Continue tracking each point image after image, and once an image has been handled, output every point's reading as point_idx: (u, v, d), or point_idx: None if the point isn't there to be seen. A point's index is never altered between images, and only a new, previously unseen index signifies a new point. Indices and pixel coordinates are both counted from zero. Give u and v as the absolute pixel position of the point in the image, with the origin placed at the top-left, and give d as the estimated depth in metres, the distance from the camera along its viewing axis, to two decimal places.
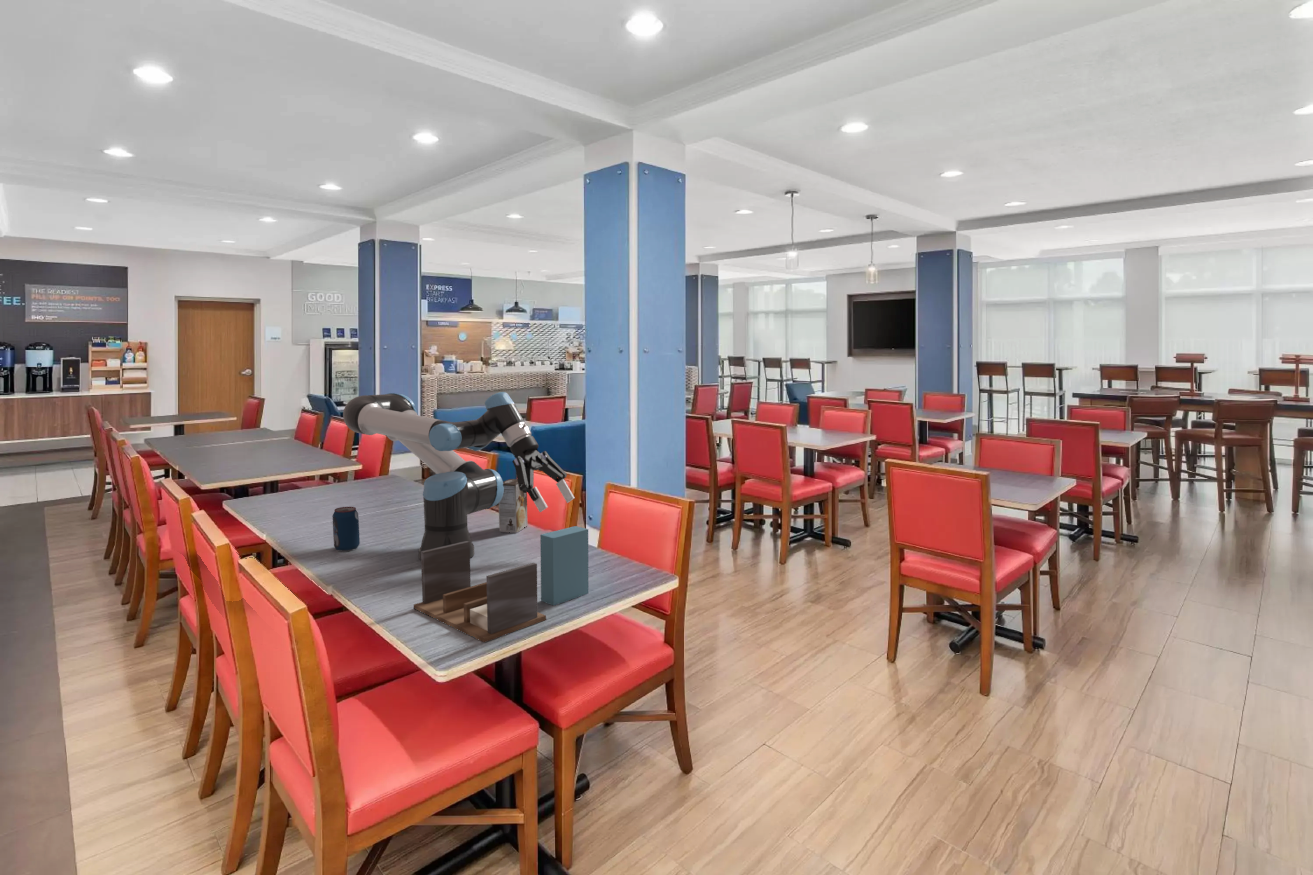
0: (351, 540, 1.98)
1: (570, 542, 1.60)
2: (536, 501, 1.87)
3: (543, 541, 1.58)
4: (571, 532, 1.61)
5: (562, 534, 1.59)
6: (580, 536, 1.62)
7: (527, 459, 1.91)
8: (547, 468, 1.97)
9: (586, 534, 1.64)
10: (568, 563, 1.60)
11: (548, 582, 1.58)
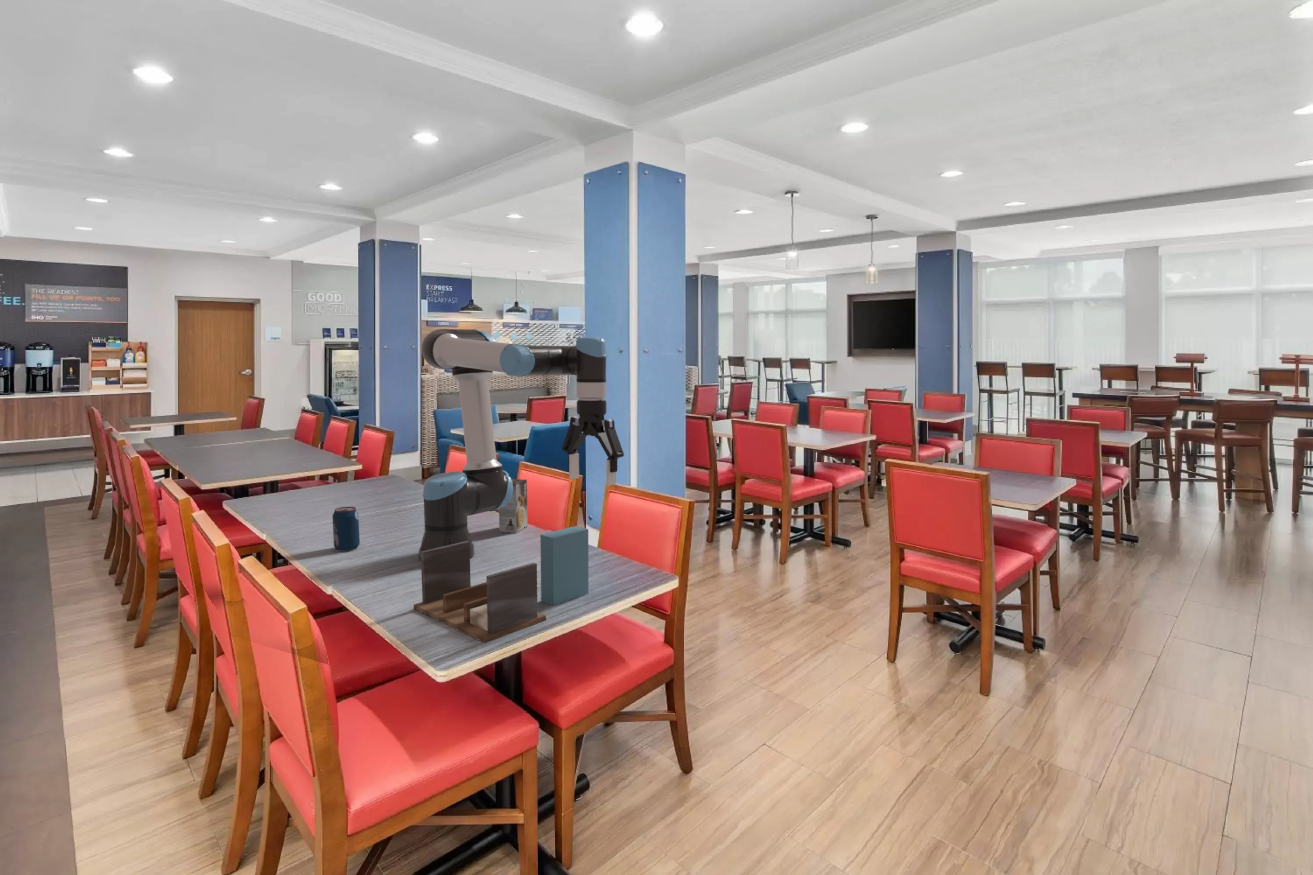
0: (351, 540, 1.98)
1: (570, 542, 1.60)
2: (610, 473, 1.70)
3: (543, 541, 1.58)
4: (571, 532, 1.61)
5: (562, 534, 1.59)
6: (580, 536, 1.62)
7: None
8: (584, 437, 1.77)
9: (586, 534, 1.64)
10: (568, 563, 1.60)
11: (548, 582, 1.58)
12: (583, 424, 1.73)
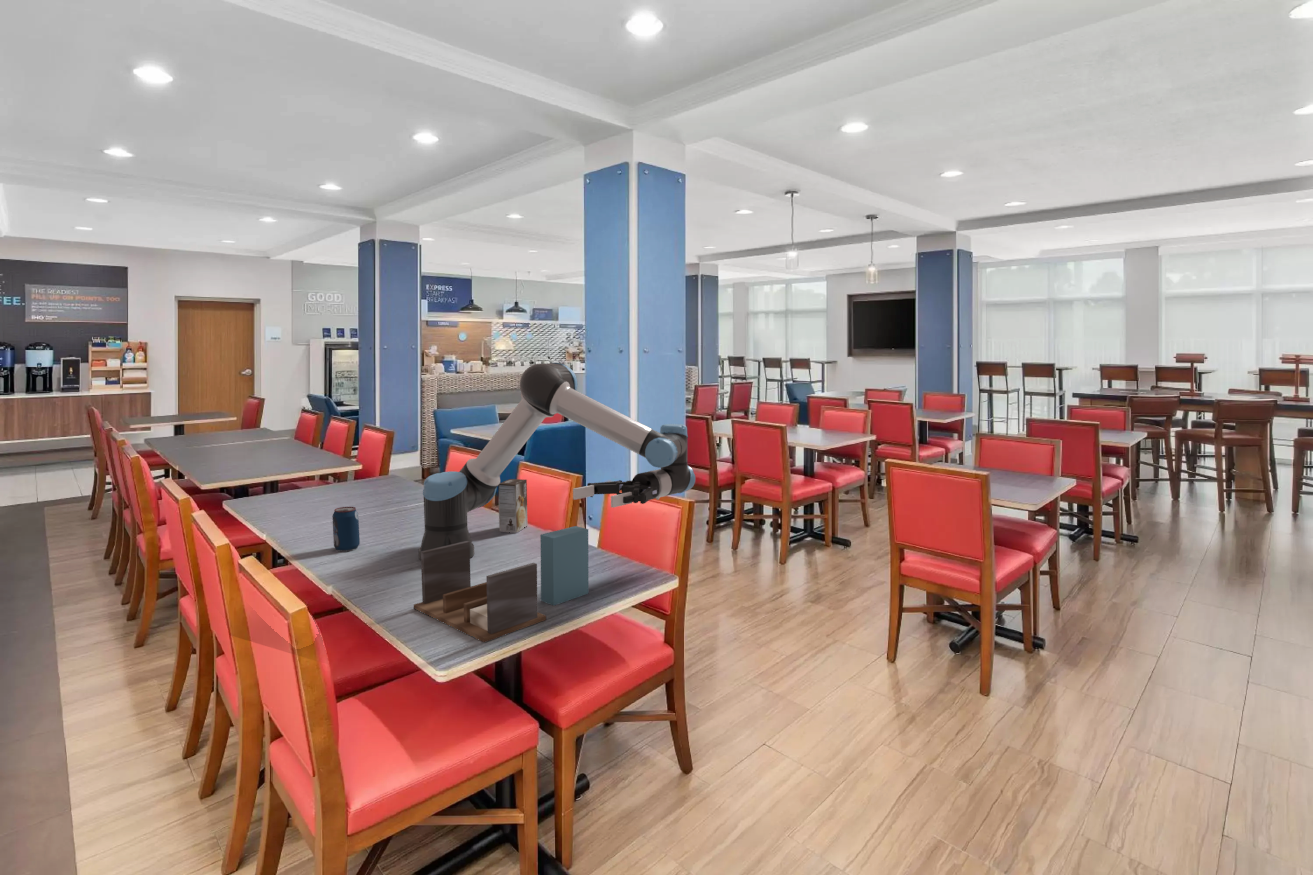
0: (351, 540, 1.98)
1: (570, 542, 1.60)
2: (621, 498, 1.65)
3: (543, 541, 1.58)
4: (571, 532, 1.61)
5: (562, 534, 1.59)
6: (580, 536, 1.62)
7: None
8: (614, 491, 1.78)
9: (586, 534, 1.64)
10: (568, 563, 1.60)
11: (548, 581, 1.58)
12: (631, 481, 1.79)
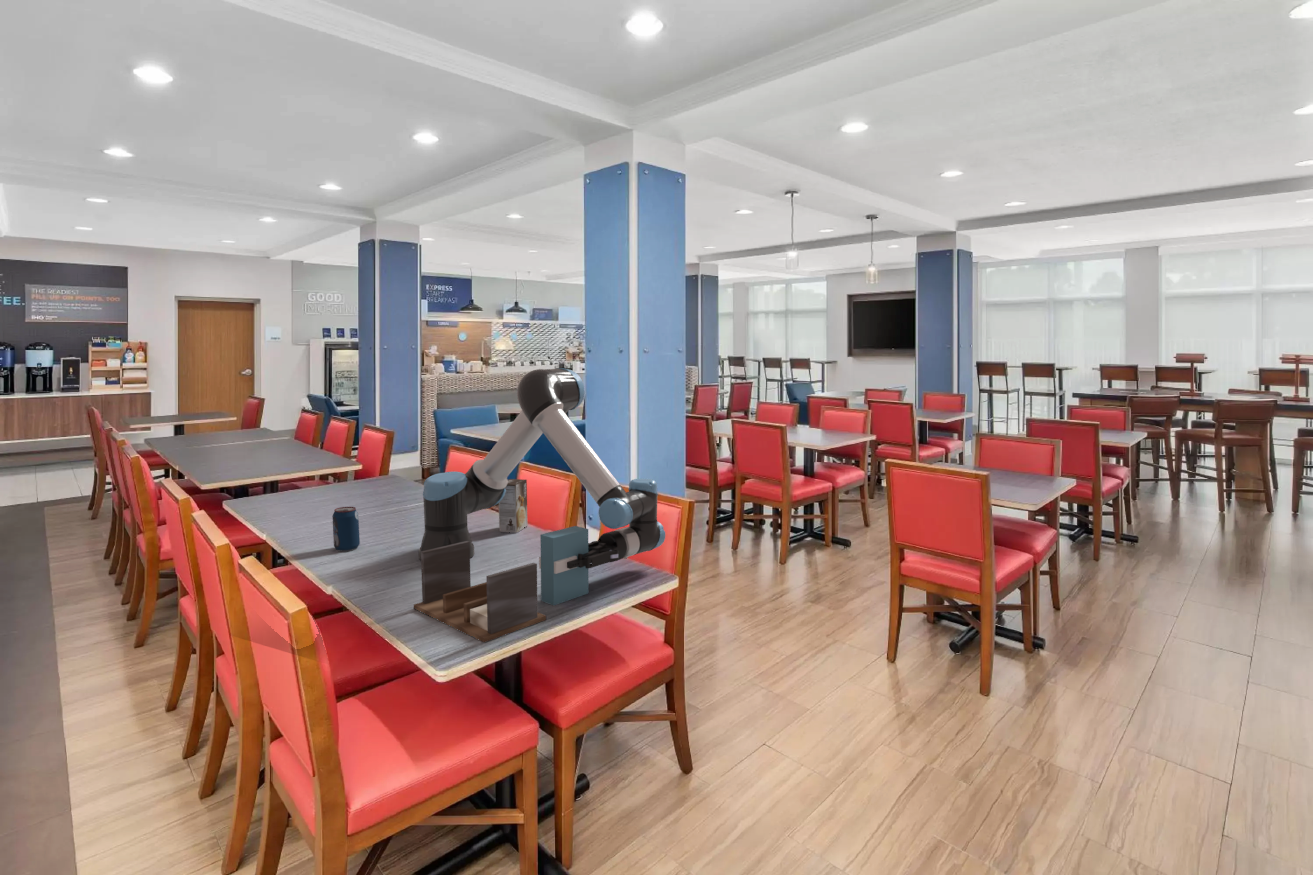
0: (351, 540, 1.98)
1: (570, 542, 1.60)
2: (565, 563, 1.58)
3: (543, 541, 1.58)
4: (571, 532, 1.61)
5: (562, 534, 1.59)
6: (580, 536, 1.62)
7: None
8: None
9: (586, 534, 1.64)
10: None
11: (548, 581, 1.58)
12: (597, 541, 1.71)
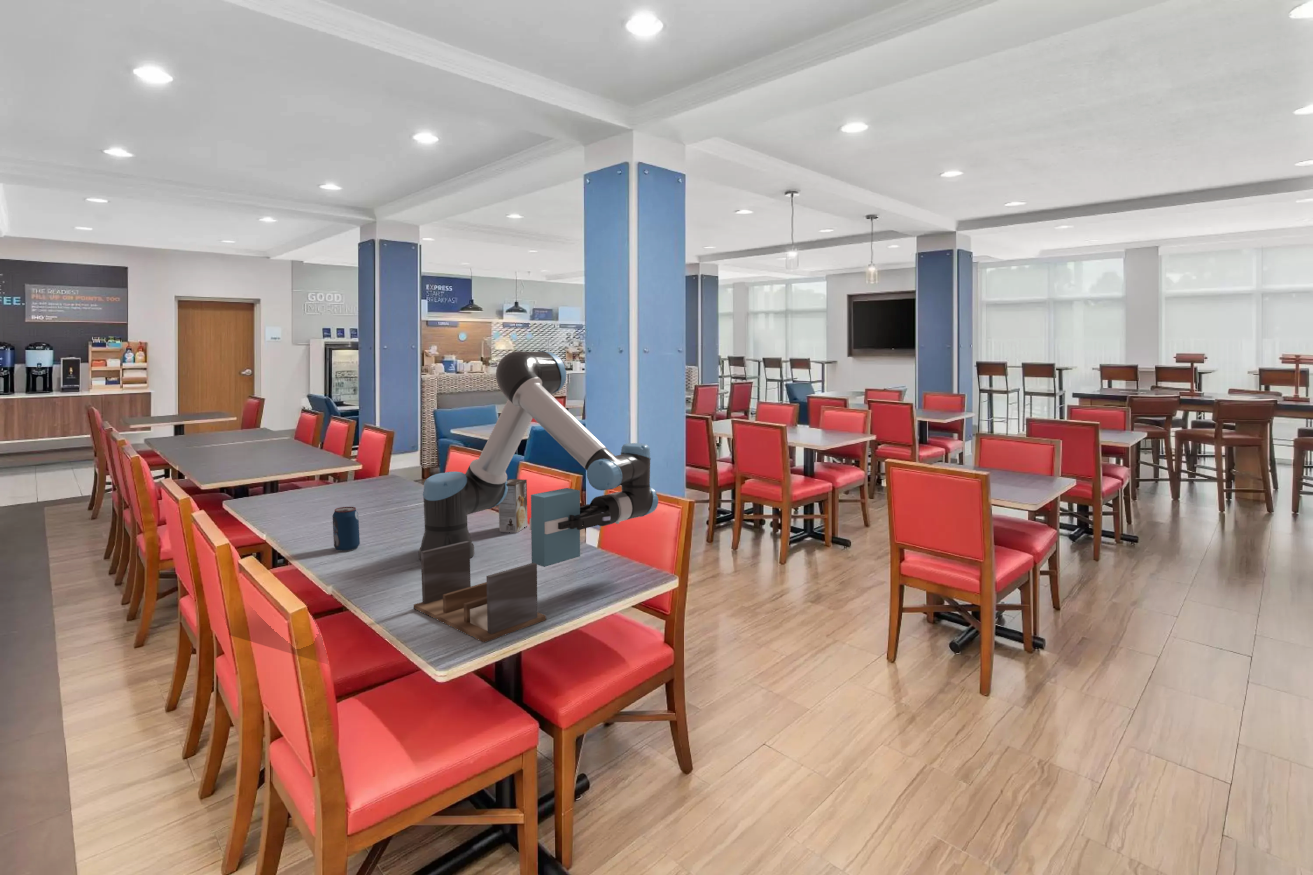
0: (351, 540, 1.98)
1: (561, 503, 1.57)
2: (556, 523, 1.55)
3: (534, 501, 1.55)
4: (562, 493, 1.58)
5: (553, 494, 1.56)
6: (572, 497, 1.59)
7: None
8: None
9: (578, 495, 1.61)
10: None
11: (539, 543, 1.55)
12: (589, 504, 1.68)
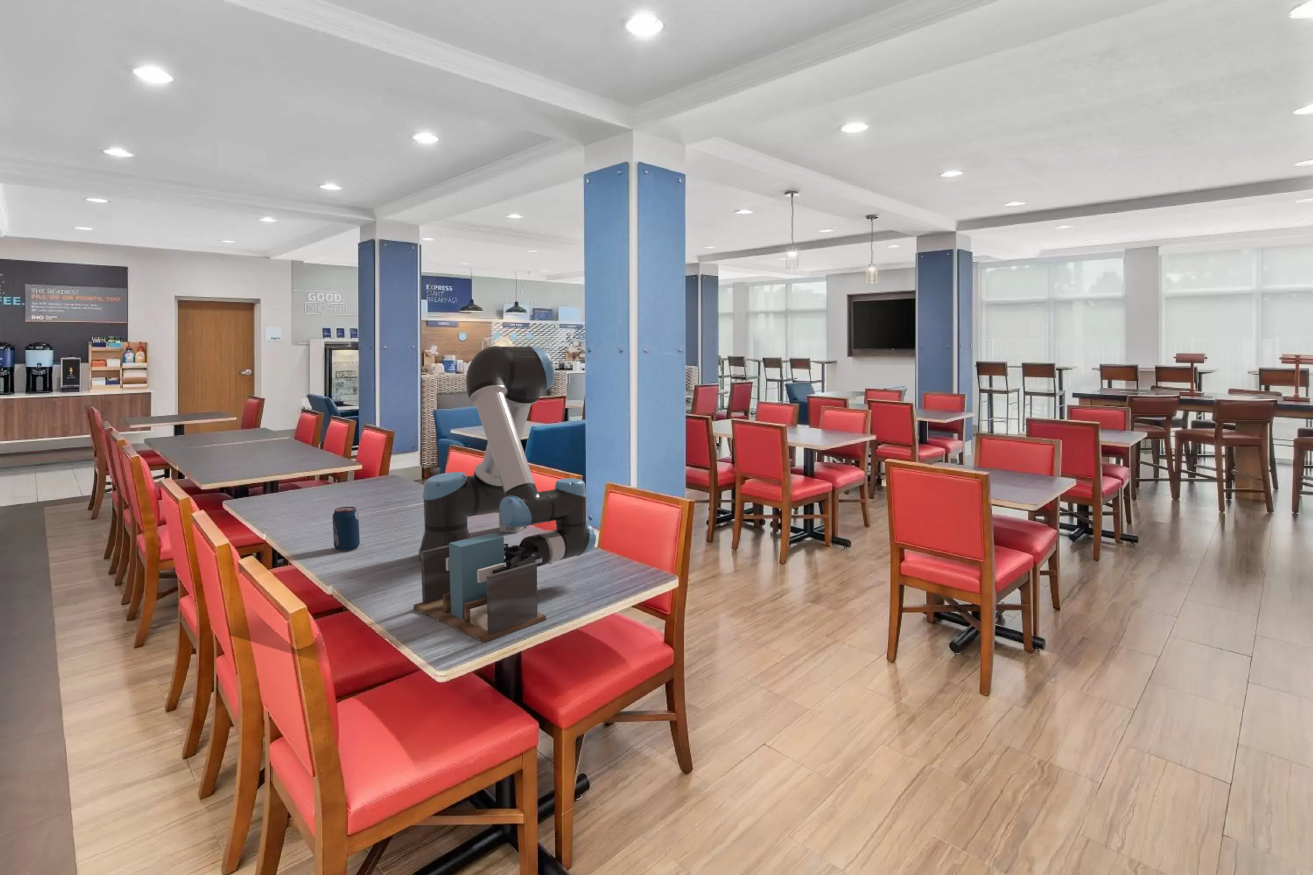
0: (351, 540, 1.98)
1: (481, 551, 1.48)
2: (491, 571, 1.46)
3: (452, 550, 1.47)
4: (483, 540, 1.49)
5: (473, 542, 1.48)
6: (494, 544, 1.51)
7: None
8: None
9: (501, 542, 1.52)
10: None
11: (457, 594, 1.47)
12: (517, 546, 1.60)
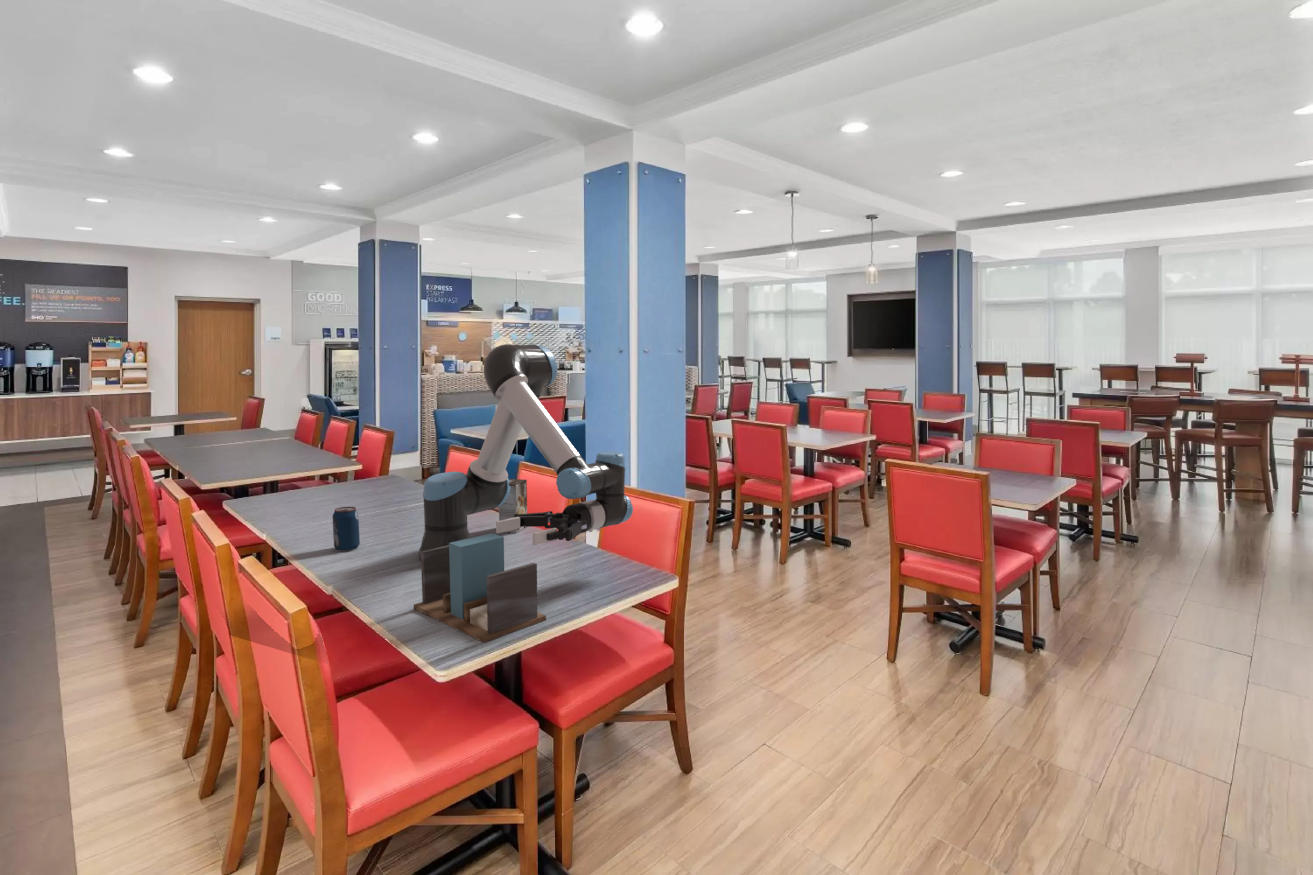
0: (351, 540, 1.98)
1: (481, 551, 1.48)
2: (545, 534, 1.55)
3: (452, 550, 1.47)
4: (483, 540, 1.49)
5: (473, 542, 1.48)
6: (494, 544, 1.51)
7: None
8: (542, 524, 1.68)
9: (501, 542, 1.52)
10: (480, 573, 1.49)
11: (457, 594, 1.47)
12: (561, 513, 1.69)
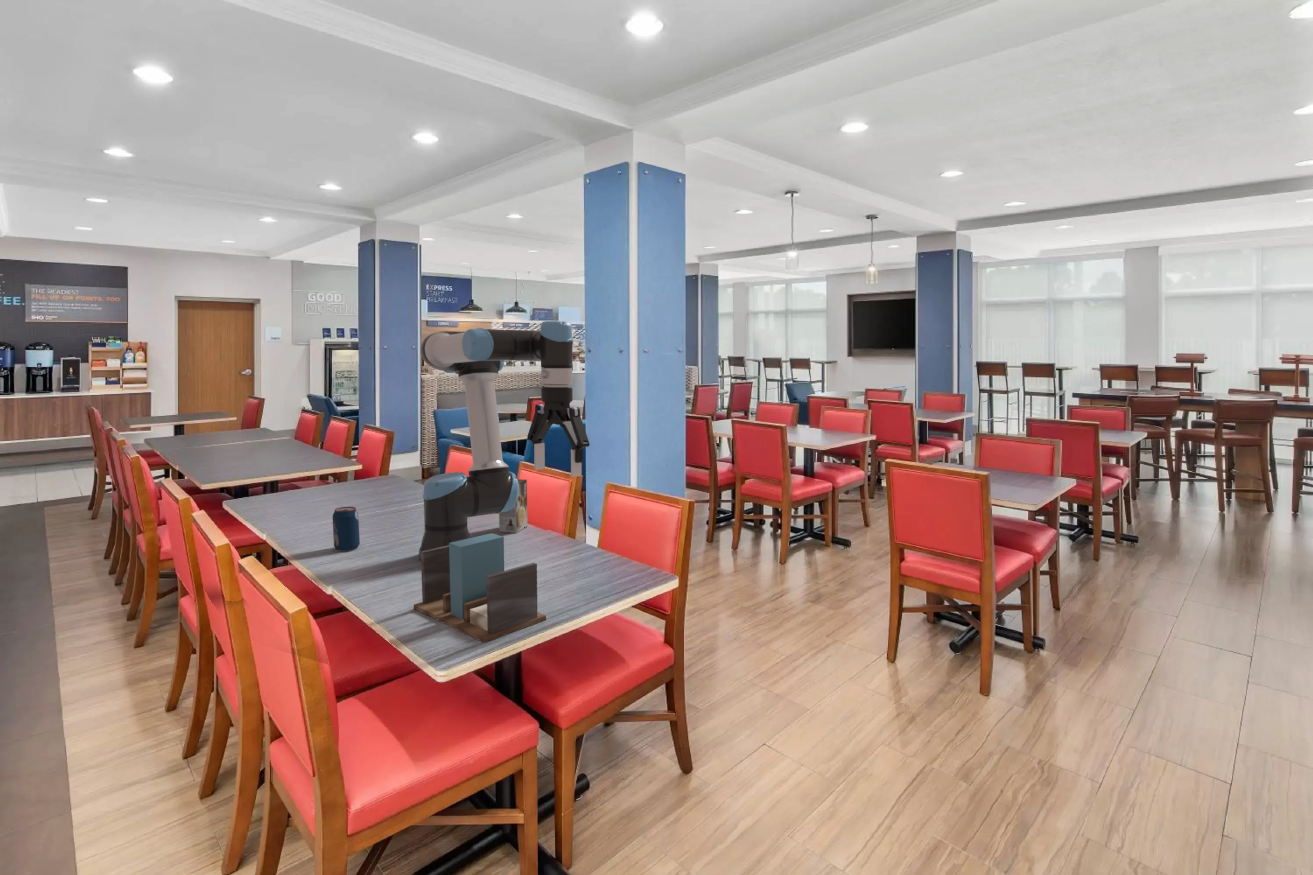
0: (351, 540, 1.98)
1: (481, 551, 1.48)
2: None
3: (452, 550, 1.47)
4: (483, 540, 1.49)
5: (473, 542, 1.48)
6: (494, 544, 1.51)
7: (545, 411, 1.67)
8: None
9: (501, 542, 1.52)
10: (480, 573, 1.49)
11: (457, 594, 1.47)
12: None
